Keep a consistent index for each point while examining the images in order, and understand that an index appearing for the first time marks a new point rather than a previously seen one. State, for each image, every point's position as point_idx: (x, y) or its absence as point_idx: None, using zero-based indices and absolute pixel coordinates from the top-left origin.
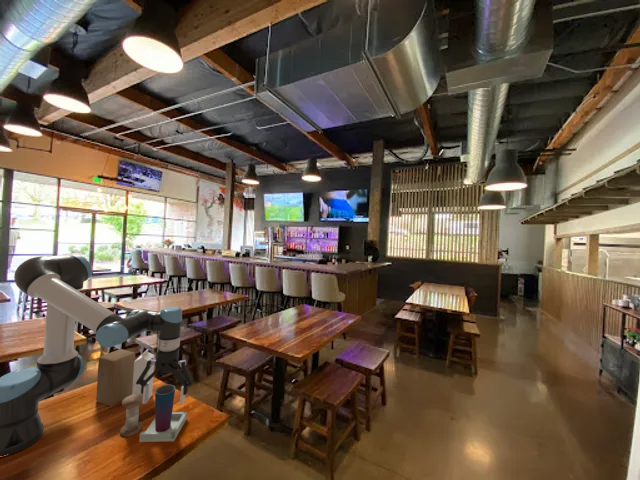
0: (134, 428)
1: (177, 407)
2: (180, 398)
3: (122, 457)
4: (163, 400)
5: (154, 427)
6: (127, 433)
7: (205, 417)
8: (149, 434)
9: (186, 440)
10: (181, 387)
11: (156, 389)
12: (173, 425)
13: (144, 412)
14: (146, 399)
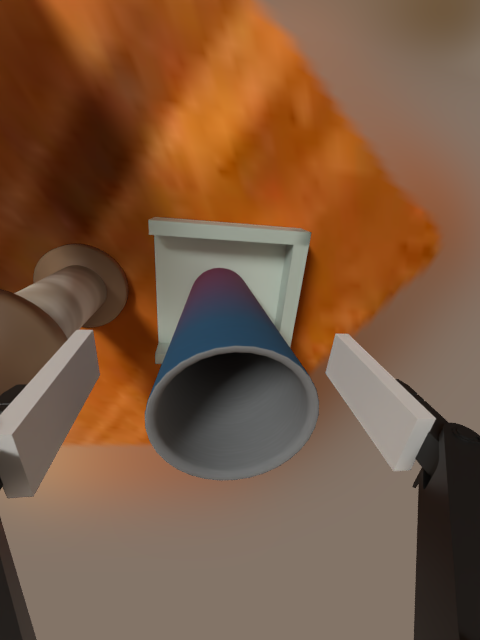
0: (101, 305)
1: (230, 113)
2: (344, 399)
3: (144, 401)
4: (241, 432)
5: (182, 291)
6: (89, 324)
7: (380, 225)
8: None
9: (319, 347)
10: (395, 470)
11: (149, 425)
12: (258, 284)
13: (57, 145)
14: (91, 361)
